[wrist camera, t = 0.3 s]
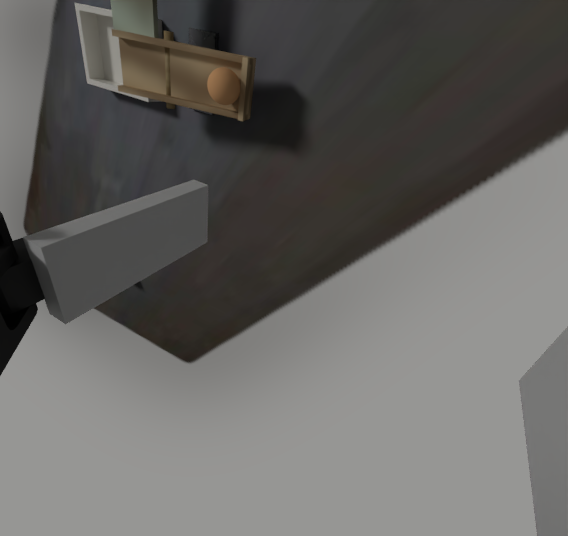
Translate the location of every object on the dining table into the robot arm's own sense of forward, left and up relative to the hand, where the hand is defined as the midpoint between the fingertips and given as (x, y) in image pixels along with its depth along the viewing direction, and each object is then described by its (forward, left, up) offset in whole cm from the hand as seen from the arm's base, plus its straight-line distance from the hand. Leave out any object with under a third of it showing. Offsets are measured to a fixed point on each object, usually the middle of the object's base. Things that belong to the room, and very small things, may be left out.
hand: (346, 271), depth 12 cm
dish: (-2, -43, -28) cm, 51 cm away
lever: (-6, -28, -23) cm, 37 cm away
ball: (-2, -22, -22) cm, 31 cm away
